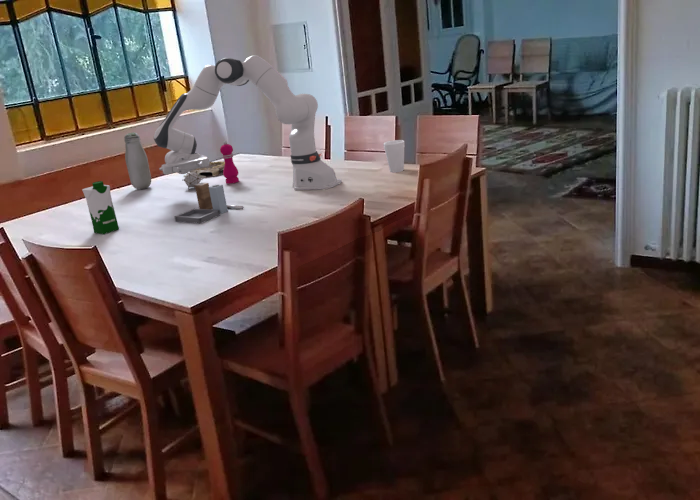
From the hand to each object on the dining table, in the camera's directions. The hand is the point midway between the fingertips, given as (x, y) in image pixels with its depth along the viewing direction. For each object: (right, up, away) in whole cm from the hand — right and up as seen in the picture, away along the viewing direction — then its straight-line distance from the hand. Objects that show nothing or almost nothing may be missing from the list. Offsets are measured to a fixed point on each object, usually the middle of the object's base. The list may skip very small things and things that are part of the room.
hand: (190, 167), depth 292 cm
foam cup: (+89, +1, +19) cm, 91 cm away
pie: (-5, +5, +71) cm, 71 cm away
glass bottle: (-36, -4, +52) cm, 63 cm away
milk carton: (-29, -27, -18) cm, 44 cm away
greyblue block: (+15, -19, -12) cm, 27 cm away
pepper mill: (+11, -2, +40) cm, 42 cm away
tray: (+7, -22, -17) cm, 29 cm away
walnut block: (+8, -18, -5) cm, 20 cm away
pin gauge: (+19, -17, -10) cm, 28 cm away
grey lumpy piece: (-7, -5, +39) cm, 40 cm away
